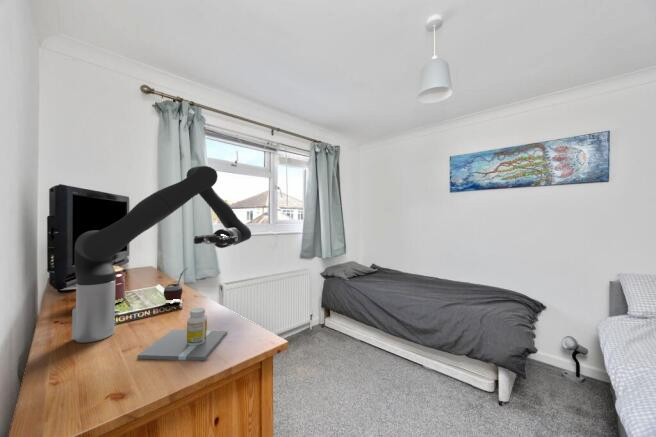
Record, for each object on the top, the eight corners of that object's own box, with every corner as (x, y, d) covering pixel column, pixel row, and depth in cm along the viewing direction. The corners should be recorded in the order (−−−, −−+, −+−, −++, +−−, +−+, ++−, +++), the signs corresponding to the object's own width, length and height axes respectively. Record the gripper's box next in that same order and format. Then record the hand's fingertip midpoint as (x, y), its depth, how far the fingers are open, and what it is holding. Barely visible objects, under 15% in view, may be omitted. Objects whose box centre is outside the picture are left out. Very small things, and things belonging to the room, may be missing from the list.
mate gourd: (159, 306, 111) (160, 270, 111) (170, 300, 119) (171, 267, 119) (177, 306, 111) (178, 271, 111) (187, 300, 119) (188, 267, 119)
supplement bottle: (195, 347, 75) (196, 314, 75) (182, 343, 77) (183, 311, 77) (210, 339, 80) (211, 308, 80) (197, 336, 82) (198, 305, 82)
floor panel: (137, 358, 71) (137, 355, 71) (172, 332, 87) (172, 329, 87) (204, 360, 71) (204, 356, 71) (227, 334, 87) (227, 330, 87)
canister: (122, 296, 122) (123, 258, 122) (127, 303, 113) (128, 262, 113) (84, 302, 113) (85, 261, 112) (86, 310, 103) (87, 266, 103)
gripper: (208, 228, 109) (187, 230, 92) (243, 229, 109) (228, 231, 92) (208, 246, 109) (187, 251, 92) (242, 247, 109) (227, 252, 92)
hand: (207, 241), depth 92 cm, fingers open, 8 cm apart
